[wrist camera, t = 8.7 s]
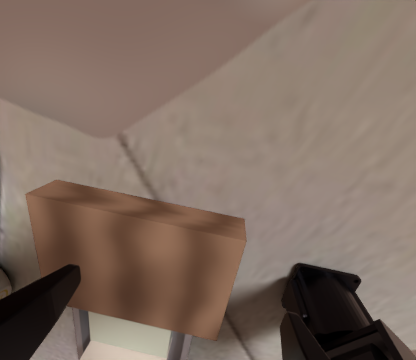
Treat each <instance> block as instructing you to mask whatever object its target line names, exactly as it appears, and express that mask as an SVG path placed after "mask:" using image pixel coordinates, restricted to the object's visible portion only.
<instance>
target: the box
mask: <svg viewBox="0 0 416 360" xmlns="http://www.w3.org/2000/svg"><path fill="white" fill-rule="evenodd" d="M72 310H73V318H74V326H75V334H76V342H77V350H78V358H79V360H80V358H81V356H82V355H83V353H84V351H85V350H86V348H87V346H88V345H89V343H90V341H91V340H90V327H89V314H88V311H85V310H81V309H77V308H72ZM191 340H192V335H188V334H184V333H180V332H175V331H173V334H172V342H171V347H170V352H169V356H168V360H187V357H188V353H189V348H190V344H191Z"/></svg>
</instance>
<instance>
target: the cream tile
mask: <svg viewBox="0 0 416 360" xmlns="http://www.w3.org/2000/svg"><path fill="white" fill-rule="evenodd" d="M171 342H172V339H171ZM170 347H171V343H170ZM170 347H169V351H168V354H167V358H163V357H158V356H154V355H150V354H146V353H142V352H138V351H134V350H130V349H125V348H121V347H117V346H113V345H109V344H105V343H101V342H96V341H92V340H91V341H90V343H89V345H88V346H87V348H86V350H85V351H84V353H83V355H82V356H81V358H80V360H168V356H169V352H170Z"/></svg>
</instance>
